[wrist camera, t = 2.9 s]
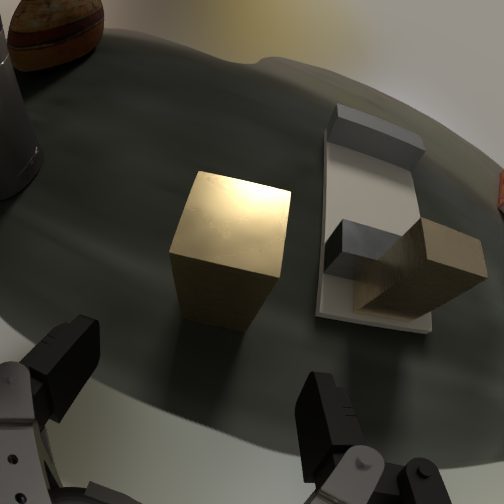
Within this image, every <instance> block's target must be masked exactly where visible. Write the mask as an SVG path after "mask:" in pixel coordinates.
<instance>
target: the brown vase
mask: <svg viewBox="0 0 504 504" xmlns="http://www.w3.org/2000/svg"><path fill="white" fill-rule="evenodd" d="M103 29H104V10H103V6H102V2H101V0H21V2H20V3H19V5H18V7H17V8H16V10H15V12H14V14H13V16H12V19H11V22H10V26H9V31H8V38H7V47H8V52H9V55H10V59H11V62H12V64H13V65H14V67H15V68H16V69H18V70H20V71H22V72H30V71H37V70H42V69H46V68H49V67H54V66H57V65H61V64H64V63H67V62H71V61H73V60H75V59H77V58H80V57H82V56H84V55H86V54H87V53H89V52H90V51H91V50H93V49H94V48H95V47H96V46H97V44H98V43H99V42H100V40H101V38H102V35H103Z"/></svg>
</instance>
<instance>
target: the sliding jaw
mask: <svg viewBox="0 0 504 504" xmlns="http://www.w3.org/2000/svg"><path fill="white" fill-rule="evenodd" d="M323 273H324V274H329V275H333V276H338V277H342V278H347V279H351V280H354V309H353V313H358V314H364V315H369V316H375V317H380V318H386V319H392V320H398V321H404V322H411V321H413V320H415V319H417V318H419V317H421V316H423V315H425V314H427V313H429V312H430V311H432V310H434V309H436V308H438V307H440V306H442V305H443V304H445V303H447V302H449V301H451V300H452V299H454V298H456V297H458V296H459V295H461V294H463V293H464V292H466V291H468V290H469V289H471V288H473V287H474V286H476V285H478V284H479V283H481V282H482V281H484V280H486V279H487V278H488V276H487V270H486V265H485V260H484V255H483V251H482V246H481V242H480V240H478V239H475V238H473V237H471V236H468V235H466V234H463V233H461V232H458V231H456V230H453V229H451V228H448V227H446V226H443V225H440V224H438V223H435V222H433V221H430V220H427V219H425V218H422V217H421V218H420V219H419V220H418V221H417V222H416V223H415V224H414V225H413V226H412V227H411V228H410V229H409V230H408V231H407V232H406V233H405V234H404V235H403V236H400V235H397V234H394V233H390V232H387V231H384V230H380V229H377V228H374V227H370V226H367V225H363V224H360V223H357V222H353V221H349V220H346V219H342V220H341V222H340V223H339V224H338V226H337V227H336V229H335V230H334V231H333V233H332V234H331V235H330V237H329V238H328V240H327V241H326V242H325V251H324V267H323Z"/></svg>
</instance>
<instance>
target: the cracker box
mask: <svg viewBox="0 0 504 504" xmlns="http://www.w3.org/2000/svg"><path fill="white" fill-rule="evenodd" d="M498 209H499V210H500V211H501V212H502V213H503V214H504V170H503V171H502V172H501V173H500V190H499V201H498Z"/></svg>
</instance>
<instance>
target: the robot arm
mask: <svg viewBox="0 0 504 504" xmlns="http://www.w3.org/2000/svg"><path fill="white" fill-rule="evenodd" d="M2 27H3V25H2V21H1V16H0V201H1V200H5V199H8V198H10V197H12V196H14V195H15V194H17V193H18V192H20V191H21V190H22V189H23V188H24V187H26V186H27V185H28V184H29V183H30V181H31V180H32V179H33V178H34V176H35V175H36V174H37V172H38V170H39V169H40V167H41V164H42V161H43V151H42V148H41V146H40V144H39V141H38V139H37V136H36V134H35V131H34V129H33V126H32V123H31V120H30V118H29V115H28V112H27V110H26V107H25V104H24V101H23V98H22V95H21V92H20V89H19V86H18V83H17V80H16V76H15V73H14V70H13V66H12V62H11V59H10V55H9V52H8V48H7V43H6V39H5V35H4V30H3V28H2ZM99 359H100V327H99V322H98V320H95V319H92V318H89V317H87V316H84V315H78V316H77V317H76V318H75V319H74V320H73V321H72V322H71V323H70V324H69V323H63V324H61V325H59V326H56V327H54V328H53V329H52V330H51V331H50V332H49V333H48V334H47V336H45V337H44V338H43V339H42V340H41V342H39V343H38V344H37V345H36V346H35V347H34V348H33V349H32V350H31V351H30V352H29V353H28V354H27V355H26V356H25V357H24V358H23V359H22V360H21V361H20V362H19V363H18V362H11V361H10V362H4V363H2V364H0V504H142V503H140V502H138V501H136V500H134V499H132V498H131V497H129V496H127V495H125V494H123V493H120V492H117V491H114V490H112V489H109V488H106V487H104V486H101V485H99V484H96V483H94V482H91V481H90V482H89V484H88V486H87V488H80V487H63V485H62V483H61V481H60V478H59V476H58V473H57V470H56V467H55V463H54V459H53V456H52V452H51V447H50V443H49V439H48V434H47V429H46V426H45V424H46V422H47V421H48V419H51V420H53V421H55V422H57V423H60V422H61V420H62V418H63V417H64V415H65V414H66V412H67V411H68V409H69V408H70V406H71V404H72V403H73V401H74V400H75V398H76V397H77V395H78V394H79V392H80V391H81V389H82V388H83V386H84V385H85V383H86V382H87V380H88V379H89V377H90V376H91V375H92V373H93V372H94V370H95V369H96V367H97V365H98V362H99ZM295 420H296V427H297V434H298V441H299V448H300V456H301V462H302V471H303V478H304V482H305V483H315V485H316V489H315V491H314V492H313V493H312V494H311V495H310V497H309V498H308V499H307V500H306V502H305V503H304V504H452V503H451V500H450V498H449V495H448V492H447V490H446V488H445V485H444V482H443V480H442V477H441V475H440V473H439V470H438V468H437V467H436V465H435V464H434V463H433V462H431V461H430V460H428V459H425V458H414V459H412V460H410V461H409V462H408V463H407V464H406V466H401V465H396V464H391V463H386V462H384V460H383V458H382V456H381V455H380V454H379V453H378V452H377V451H376V450H375V449H373V448H371V447H368V446H367V445H366V442H365V439H364V436H363V433H362V430H361V428H360V425H359V422H358V419H357V417H356V413H355V411H354V409H353V405H352V402H351V400H350V397H349V396H348V395H347V394H346V392H345V391H344V390H343V389H342V388H338V387H336V385H335V382H334V379H333V376H332V375H331V374H329V373H321V372H313V371H312V372H310V374H309V375H308V377H307V380H306V382H305V384H304V386H303V389H302V391H301V393H300V395H299V397H298V399H297V402H296V406H295Z"/></svg>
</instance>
